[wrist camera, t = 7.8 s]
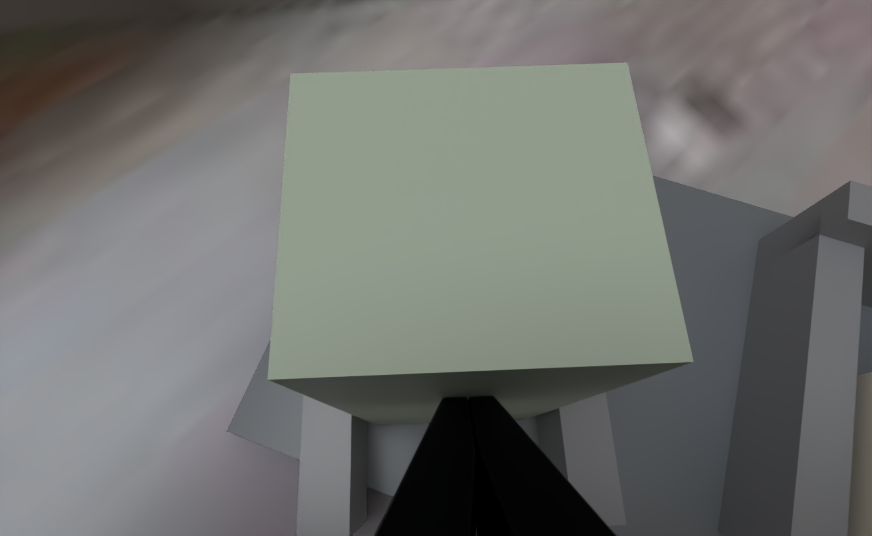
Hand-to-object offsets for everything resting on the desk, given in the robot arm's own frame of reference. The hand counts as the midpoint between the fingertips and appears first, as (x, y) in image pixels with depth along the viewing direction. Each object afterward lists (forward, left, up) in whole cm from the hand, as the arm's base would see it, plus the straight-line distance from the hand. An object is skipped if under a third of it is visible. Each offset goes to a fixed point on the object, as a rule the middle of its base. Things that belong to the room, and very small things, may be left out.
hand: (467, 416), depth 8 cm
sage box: (+2, -1, -8) cm, 8 cm away
